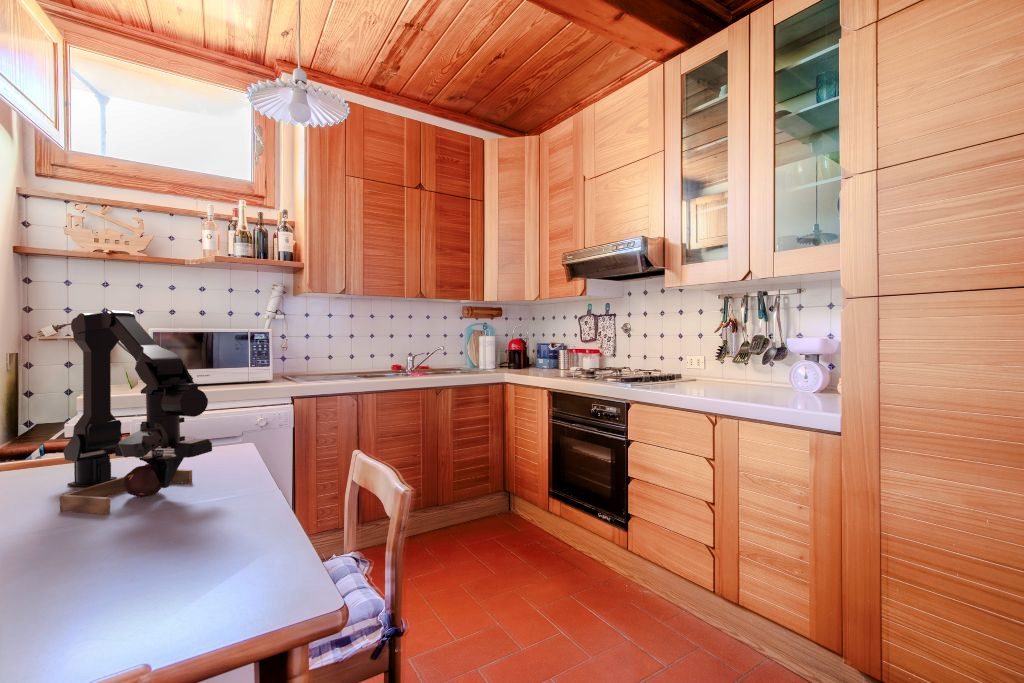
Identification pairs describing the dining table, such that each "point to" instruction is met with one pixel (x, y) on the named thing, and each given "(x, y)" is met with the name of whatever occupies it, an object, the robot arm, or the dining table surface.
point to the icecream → (142, 481)
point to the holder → (105, 494)
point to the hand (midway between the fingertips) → (165, 487)
